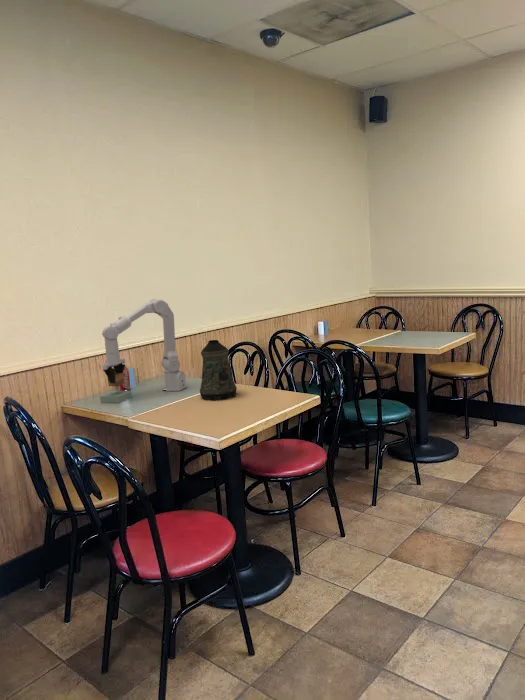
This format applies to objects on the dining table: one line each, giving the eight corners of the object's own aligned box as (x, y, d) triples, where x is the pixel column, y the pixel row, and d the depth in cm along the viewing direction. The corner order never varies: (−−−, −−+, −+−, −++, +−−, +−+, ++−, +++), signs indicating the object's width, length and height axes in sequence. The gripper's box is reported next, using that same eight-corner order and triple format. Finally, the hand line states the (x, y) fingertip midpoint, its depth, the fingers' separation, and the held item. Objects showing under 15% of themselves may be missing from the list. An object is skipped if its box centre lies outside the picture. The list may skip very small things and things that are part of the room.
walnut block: (124, 383, 257) (122, 373, 256) (117, 386, 252) (116, 375, 251) (115, 383, 259) (113, 372, 258) (108, 386, 254) (107, 375, 253)
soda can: (132, 388, 278) (129, 364, 276) (128, 391, 271) (125, 367, 269) (119, 388, 279) (116, 365, 277) (114, 392, 272) (111, 368, 270)
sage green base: (131, 397, 259) (131, 390, 259) (119, 403, 250) (118, 396, 249) (114, 396, 263) (113, 390, 262) (100, 402, 254) (100, 396, 253)
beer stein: (217, 402, 237) (211, 345, 233) (188, 397, 251) (183, 342, 246) (244, 393, 249) (240, 338, 245) (216, 389, 262) (211, 336, 258)
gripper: (114, 349, 261) (118, 377, 263) (95, 355, 248) (99, 385, 250) (127, 349, 258) (130, 378, 261) (108, 355, 245) (112, 385, 247)
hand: (116, 381), depth 255 cm, fingers closed on walnut block, 5 cm apart
